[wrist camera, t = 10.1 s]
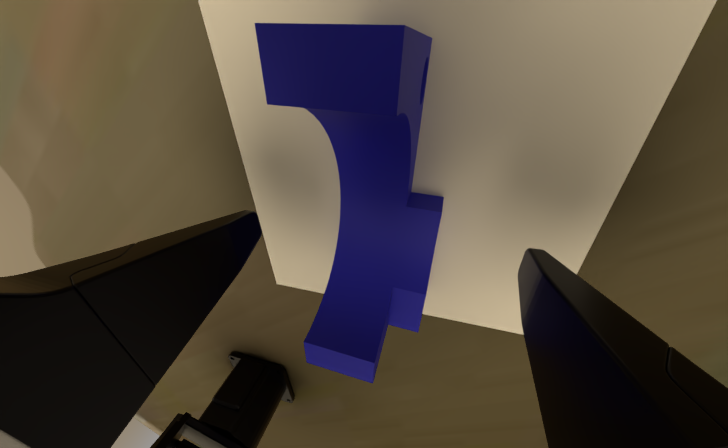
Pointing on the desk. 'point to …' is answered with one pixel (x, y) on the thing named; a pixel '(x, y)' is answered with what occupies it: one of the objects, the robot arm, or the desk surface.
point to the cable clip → (363, 176)
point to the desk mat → (469, 131)
